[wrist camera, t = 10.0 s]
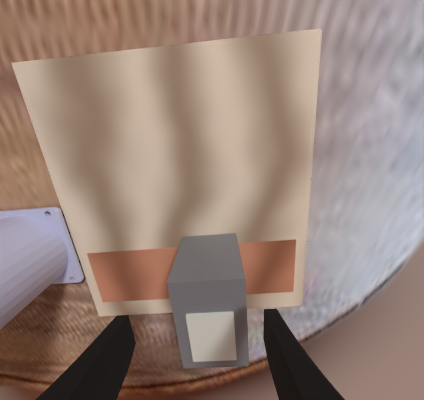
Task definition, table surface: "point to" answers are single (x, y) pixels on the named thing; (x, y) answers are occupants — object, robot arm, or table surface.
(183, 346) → the block
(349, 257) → the table surface
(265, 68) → the subfloor panel
